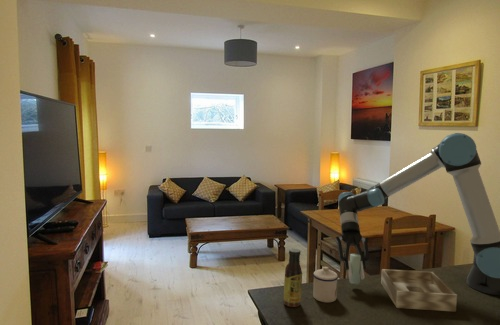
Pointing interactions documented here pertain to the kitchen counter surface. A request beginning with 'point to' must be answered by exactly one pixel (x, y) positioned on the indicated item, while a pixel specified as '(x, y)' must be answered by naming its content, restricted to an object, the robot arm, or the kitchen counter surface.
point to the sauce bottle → (293, 280)
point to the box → (418, 290)
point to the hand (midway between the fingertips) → (356, 278)
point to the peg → (355, 268)
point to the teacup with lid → (325, 285)
